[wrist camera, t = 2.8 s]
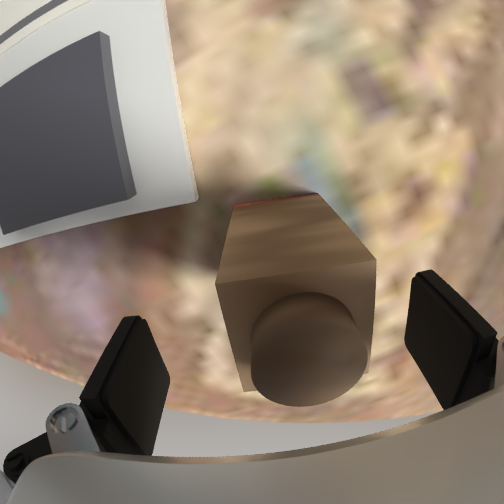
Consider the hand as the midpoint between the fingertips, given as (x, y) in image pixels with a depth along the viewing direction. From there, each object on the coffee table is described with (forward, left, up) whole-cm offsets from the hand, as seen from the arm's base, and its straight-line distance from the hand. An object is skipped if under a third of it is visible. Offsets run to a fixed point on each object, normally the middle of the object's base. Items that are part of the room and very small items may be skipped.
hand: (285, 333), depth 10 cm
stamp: (-1, 0, -8) cm, 8 cm away
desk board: (+11, -16, -8) cm, 21 cm away
